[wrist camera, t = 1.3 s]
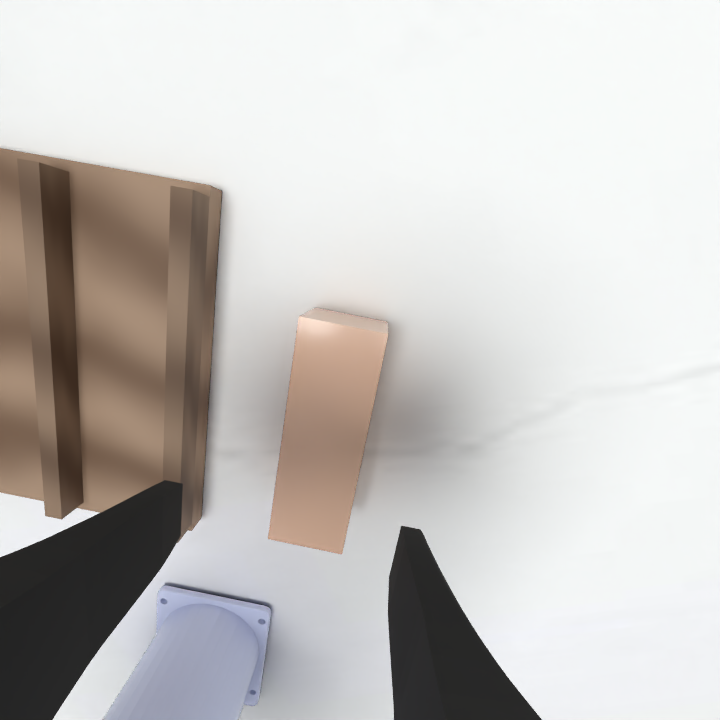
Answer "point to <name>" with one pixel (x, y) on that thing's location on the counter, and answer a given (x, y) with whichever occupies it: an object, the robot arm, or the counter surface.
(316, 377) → the peach rectangular block
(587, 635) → the counter surface
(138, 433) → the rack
